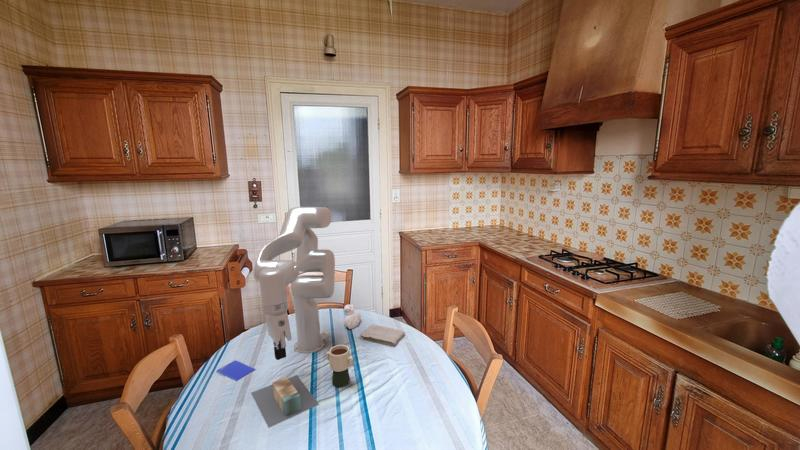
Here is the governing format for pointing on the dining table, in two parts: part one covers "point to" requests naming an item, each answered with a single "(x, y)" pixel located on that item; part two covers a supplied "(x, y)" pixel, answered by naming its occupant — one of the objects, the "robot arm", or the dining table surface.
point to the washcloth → (382, 335)
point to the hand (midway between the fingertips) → (280, 357)
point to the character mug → (340, 364)
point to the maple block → (286, 396)
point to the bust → (351, 317)
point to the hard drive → (235, 370)
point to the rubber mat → (273, 410)
